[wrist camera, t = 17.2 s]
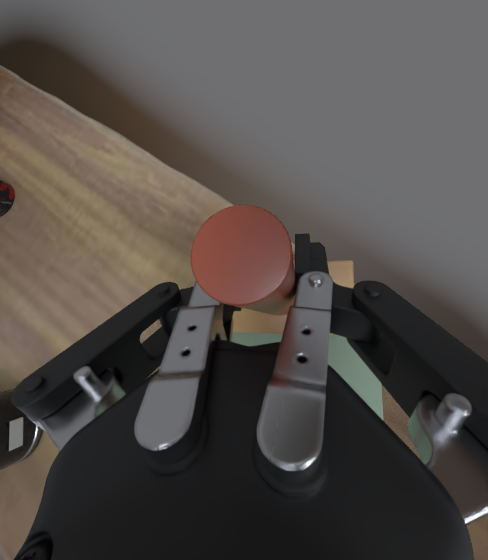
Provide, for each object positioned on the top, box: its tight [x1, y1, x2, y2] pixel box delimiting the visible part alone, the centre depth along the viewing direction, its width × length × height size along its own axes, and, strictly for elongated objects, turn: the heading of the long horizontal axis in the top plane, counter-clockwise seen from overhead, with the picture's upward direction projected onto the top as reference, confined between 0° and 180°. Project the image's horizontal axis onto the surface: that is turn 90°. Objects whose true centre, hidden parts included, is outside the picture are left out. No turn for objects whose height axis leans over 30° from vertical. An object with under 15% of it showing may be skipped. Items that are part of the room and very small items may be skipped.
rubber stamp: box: [191, 205, 354, 335], centre depth 14 cm, size 10×5×15 cm, turn 88°
